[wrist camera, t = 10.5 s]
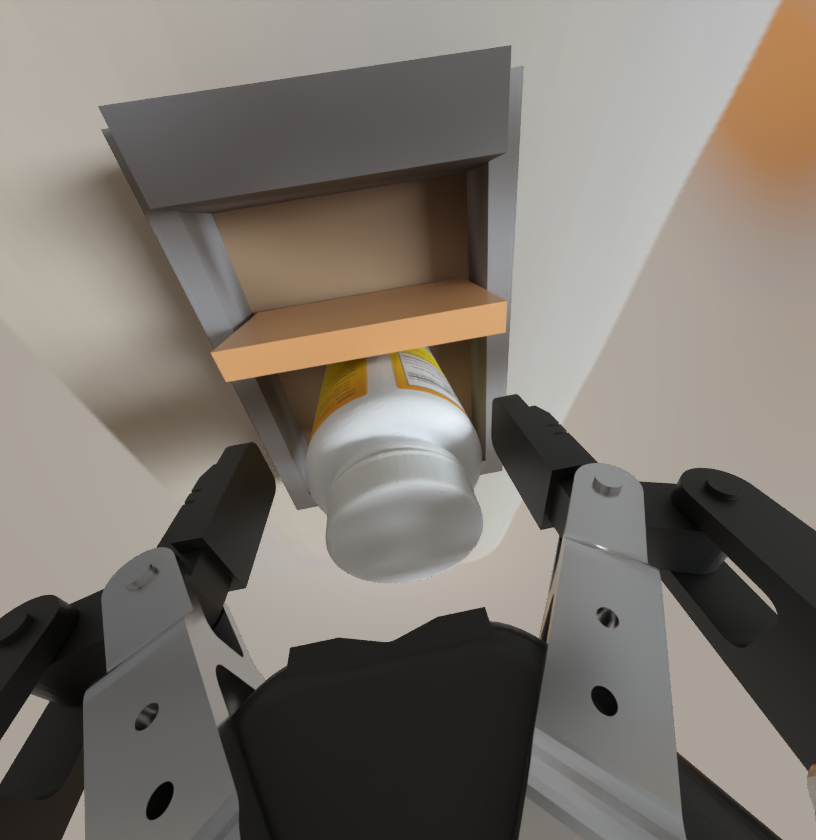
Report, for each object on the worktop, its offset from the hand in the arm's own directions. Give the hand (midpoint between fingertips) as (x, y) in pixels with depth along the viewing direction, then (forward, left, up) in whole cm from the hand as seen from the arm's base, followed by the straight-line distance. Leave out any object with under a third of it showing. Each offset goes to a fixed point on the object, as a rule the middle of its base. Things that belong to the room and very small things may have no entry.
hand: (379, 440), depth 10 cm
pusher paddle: (-3, 0, -6) cm, 7 cm away
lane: (-1, 0, -7) cm, 7 cm away
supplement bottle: (0, 0, -7) cm, 7 cm away
